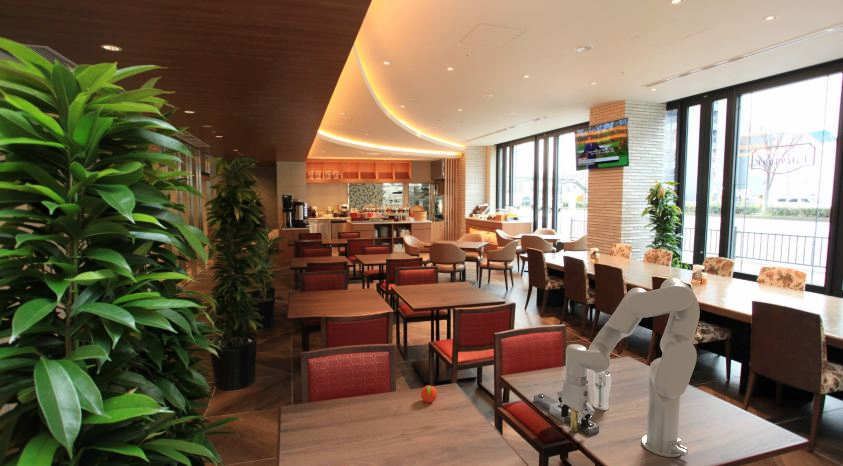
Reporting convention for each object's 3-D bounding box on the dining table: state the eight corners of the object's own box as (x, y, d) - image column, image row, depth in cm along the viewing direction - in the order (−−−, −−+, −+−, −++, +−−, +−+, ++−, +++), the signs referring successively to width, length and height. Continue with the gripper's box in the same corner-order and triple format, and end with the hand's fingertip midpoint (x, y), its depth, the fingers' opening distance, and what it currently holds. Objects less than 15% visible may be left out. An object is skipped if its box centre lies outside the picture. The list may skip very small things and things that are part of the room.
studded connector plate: (601, 430, 163) (602, 421, 163) (586, 436, 159) (587, 427, 159) (545, 397, 190) (545, 389, 189) (530, 401, 186) (531, 393, 186)
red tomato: (437, 407, 182) (437, 390, 181) (420, 406, 182) (420, 390, 181) (436, 398, 190) (436, 382, 189) (421, 397, 190) (421, 382, 189)
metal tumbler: (606, 403, 185) (608, 369, 183) (612, 411, 178) (613, 376, 176) (590, 402, 185) (591, 368, 184) (594, 410, 178) (596, 375, 177)
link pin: (581, 431, 163) (581, 408, 162) (574, 433, 161) (575, 410, 160) (574, 427, 166) (574, 404, 165) (567, 429, 164) (568, 406, 163)
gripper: (602, 385, 156) (600, 430, 157) (565, 368, 171) (564, 409, 173) (587, 389, 152) (585, 436, 154) (551, 371, 168) (550, 414, 169)
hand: (574, 422), depth 163 cm, fingers open, 9 cm apart
